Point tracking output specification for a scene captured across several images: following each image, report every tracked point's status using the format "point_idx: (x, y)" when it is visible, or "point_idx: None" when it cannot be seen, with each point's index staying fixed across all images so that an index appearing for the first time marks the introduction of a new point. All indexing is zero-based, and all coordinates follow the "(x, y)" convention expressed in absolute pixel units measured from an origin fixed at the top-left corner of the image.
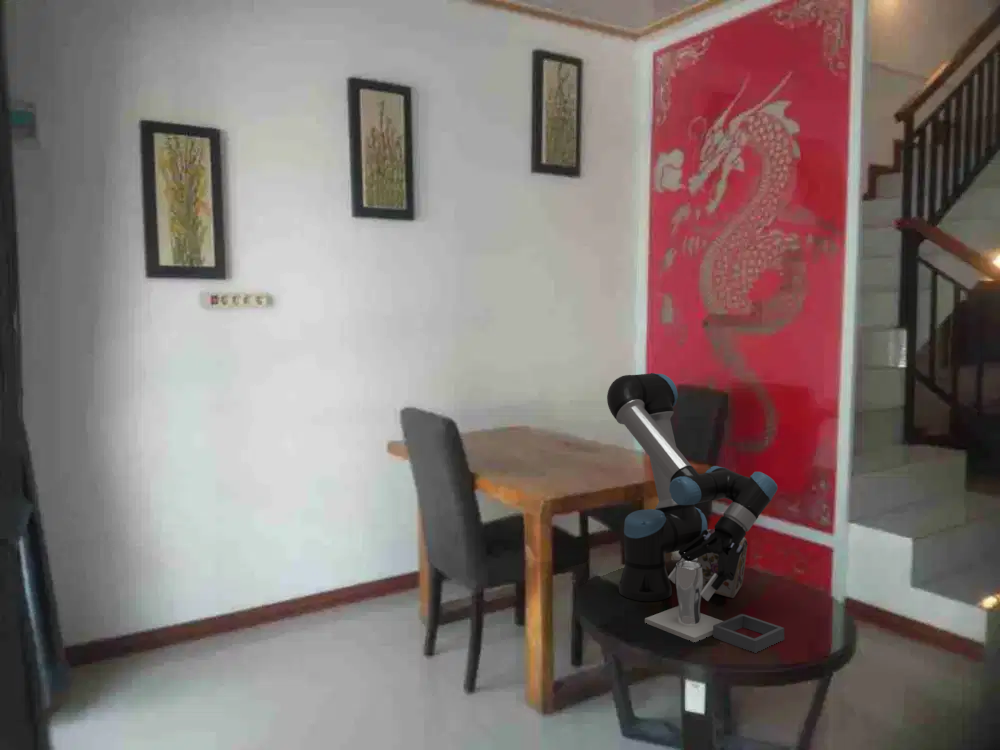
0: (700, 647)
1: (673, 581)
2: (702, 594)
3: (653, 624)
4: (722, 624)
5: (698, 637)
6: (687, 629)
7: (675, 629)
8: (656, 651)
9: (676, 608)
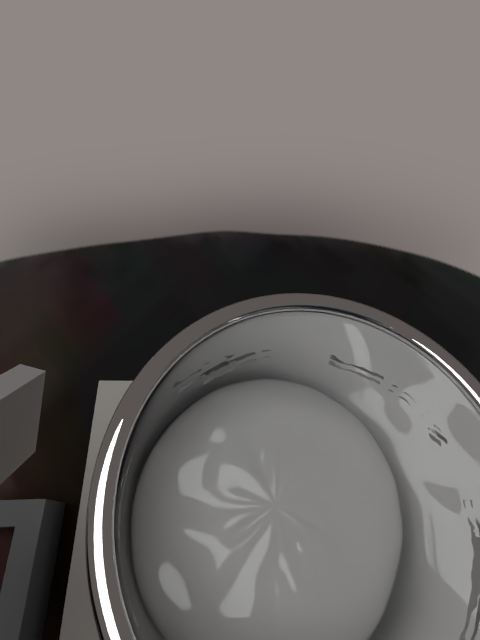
0: (60, 370)
1: None
2: (13, 373)
3: None
4: (6, 566)
5: (96, 410)
6: None
7: None
8: (162, 245)
9: None
